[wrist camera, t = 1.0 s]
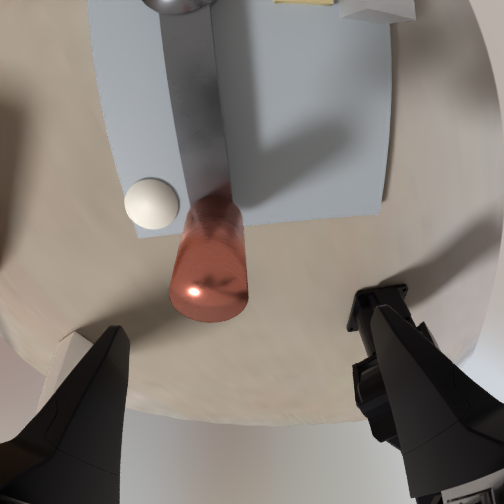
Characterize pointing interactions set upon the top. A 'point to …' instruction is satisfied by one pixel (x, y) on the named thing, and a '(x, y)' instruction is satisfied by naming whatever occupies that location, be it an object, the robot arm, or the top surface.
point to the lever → (202, 169)
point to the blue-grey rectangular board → (256, 107)
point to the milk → (63, 364)
